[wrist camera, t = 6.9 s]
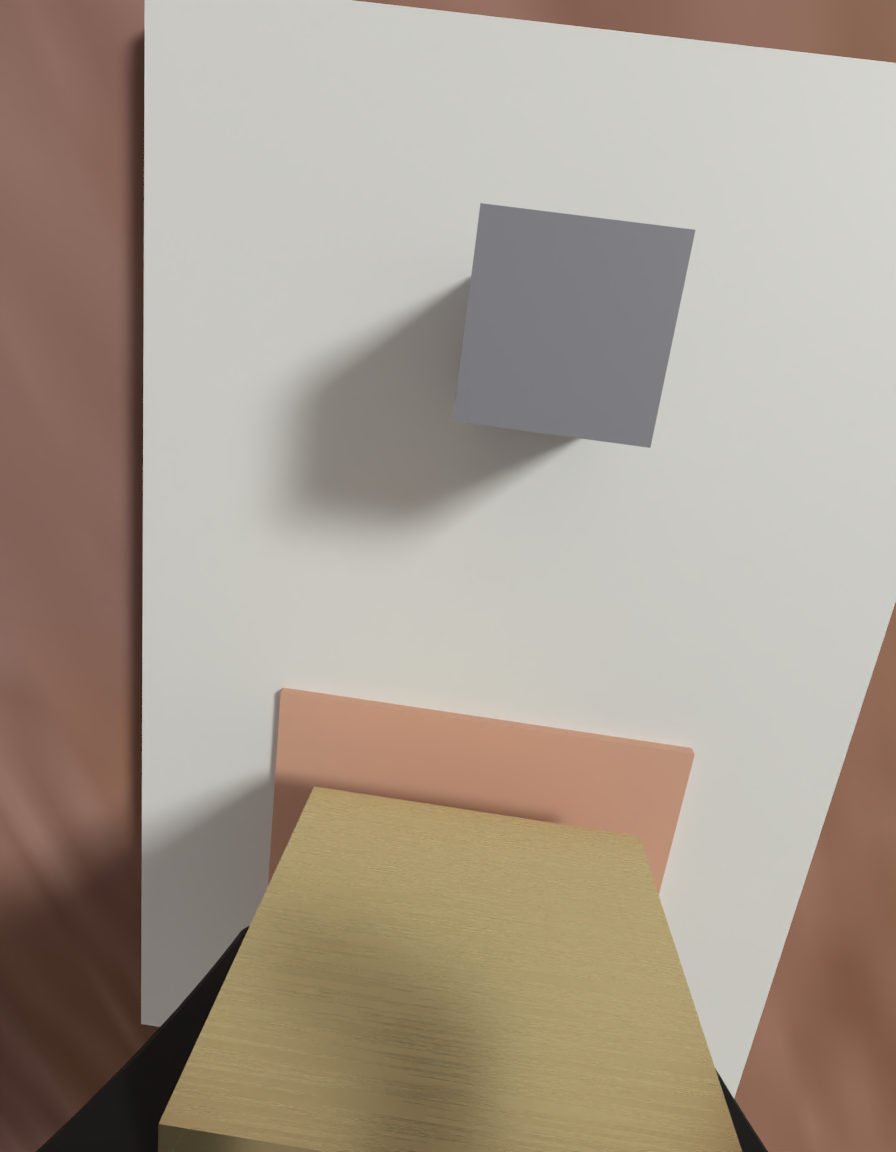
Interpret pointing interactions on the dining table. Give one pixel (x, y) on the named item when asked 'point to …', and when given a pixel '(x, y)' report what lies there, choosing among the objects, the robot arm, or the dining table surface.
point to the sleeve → (451, 997)
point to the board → (509, 452)
